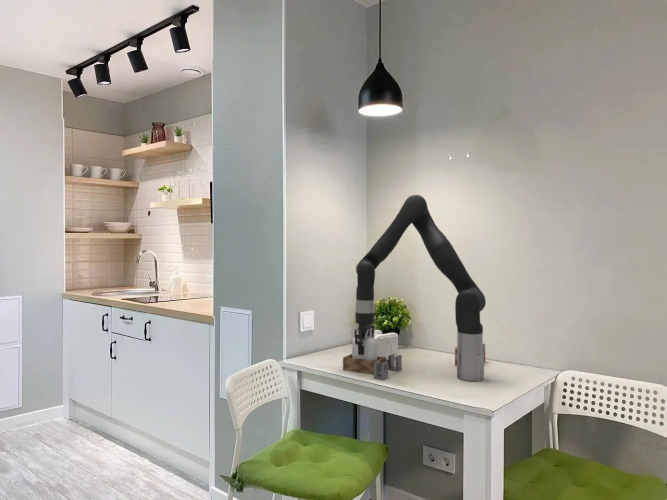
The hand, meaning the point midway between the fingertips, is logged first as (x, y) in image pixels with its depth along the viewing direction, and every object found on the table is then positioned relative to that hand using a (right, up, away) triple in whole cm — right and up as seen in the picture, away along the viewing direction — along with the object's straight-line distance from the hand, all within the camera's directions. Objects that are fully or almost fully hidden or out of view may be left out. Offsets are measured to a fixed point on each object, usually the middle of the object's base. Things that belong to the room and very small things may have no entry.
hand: (364, 353), depth 210 cm
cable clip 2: (+12, -7, 0) cm, 14 cm away
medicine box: (+45, -7, +12) cm, 47 cm away
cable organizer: (+7, -7, +19) cm, 21 cm away
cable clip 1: (+5, -7, -12) cm, 15 cm away
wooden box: (0, -7, 0) cm, 7 cm away
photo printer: (0, -6, 0) cm, 6 cm away
